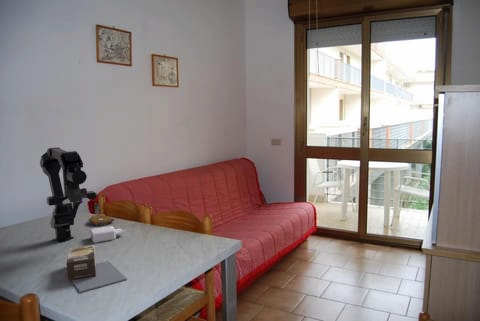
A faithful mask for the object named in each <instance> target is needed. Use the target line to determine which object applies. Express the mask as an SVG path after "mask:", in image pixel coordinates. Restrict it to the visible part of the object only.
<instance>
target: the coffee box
mask: <svg viewBox="0 0 480 321" xmlns="http://www.w3.org/2000/svg"><path fill="white" fill-rule="evenodd" d="M96 254H97V253H96V247H95V244H92V245H90V244H89V245H83V246H75V247H69V248H68V253H67V259H66V271H67V273H66V275H67V281H72V280H75V279H81V278H87V277H94V276H96V264H97V255H96Z"/></svg>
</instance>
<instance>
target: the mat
mask: <svg viewBox="0 0 480 321" xmlns="http://www.w3.org/2000/svg"><path fill="white" fill-rule="evenodd" d="M65 273H66V274H67V270H66V271H65ZM124 281H128V278H127V277H126V276H125V275H124V274H123V273H122V272H121V271H120V270H118V268H116V267H115V266H114V265H113V264H112V263H111V262H110V261H109V260H106V261H102V262H99V263H96V276H94V277H87V278H81V279H75V280H71V282H72V283H73V285H74V286H75V287H76V289H77V291H78V292H79V293H80V294H81V293H86V292H89V291H92V290H96V289H99V288H103V287H107V286H111V285H114V284H117V283H120V282H124Z"/></svg>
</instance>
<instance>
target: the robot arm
mask: <svg viewBox="0 0 480 321" xmlns="http://www.w3.org/2000/svg"><path fill="white" fill-rule="evenodd" d="M39 166H40V168H41V170H42V173H44V174H45V175H46V176H47V177H48V181H49V186H50V190H51V192H50V193H51V196H47V197H46V204H47V205H48V206H50V207H51V206H54V208H53V210H52V216H51V220H50V222H49V224H50V228H52V229H54V231H55V232H54V233H55V238H53V239H52V241H56V242H59V243H63V242H65V241H69V240H72V239H74V238H75V237H74V236H72V233H71V226H74V225H75V224H74V223H75V218H76V216H77V213H78V212H77V211H78V210H79V206H80V205H81V204H83V203H84V201H83V199H88V200H90V201H92V200H97V199H98V194H97V193H96V192H95V191H93V190H90V191H88V189H87V188H86V187H85V188H83V187H82V188H80V185H83V184H84V183H85V182H86V181H87V177H88V176H87V174H86V172H85V171H84V170H82V168H84V162H83V160H82V157H81V156H80V154H79V153H78V151H77V150H72V151H66V150H64V149H63V148H61V147H49V148H47V151H46V152H45V153H44V154H42V155H41V157H40V160H39ZM61 171H62V181H63V182H62V181H61V177H60V172H61ZM62 184H63V186H62Z"/></svg>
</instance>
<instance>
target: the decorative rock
mask: <svg viewBox="0 0 480 321" xmlns="http://www.w3.org/2000/svg"><path fill="white" fill-rule="evenodd" d="M113 221H114V222H115V219H114V218H113V217H112V216H108V215H105V214H104V213H99V214H95V215H92V216H91V217H90V218H88V222H90V223H92V224H93V225H94V226H96V227H106V226H108V225H110V224H111V223H112V222H113Z"/></svg>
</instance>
